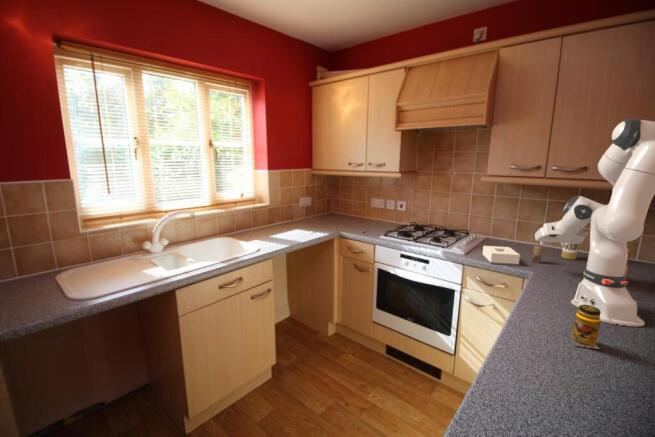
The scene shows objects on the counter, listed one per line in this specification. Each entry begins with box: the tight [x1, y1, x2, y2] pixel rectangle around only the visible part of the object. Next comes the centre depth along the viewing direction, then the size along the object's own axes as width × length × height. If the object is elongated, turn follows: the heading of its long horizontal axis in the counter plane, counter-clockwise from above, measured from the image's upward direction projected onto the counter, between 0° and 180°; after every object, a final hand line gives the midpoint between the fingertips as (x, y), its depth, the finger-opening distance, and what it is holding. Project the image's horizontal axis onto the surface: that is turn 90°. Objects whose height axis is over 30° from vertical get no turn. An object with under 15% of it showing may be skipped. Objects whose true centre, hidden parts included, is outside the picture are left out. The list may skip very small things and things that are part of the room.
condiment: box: [571, 305, 602, 347], centre depth 100 cm, size 7×8×12 cm
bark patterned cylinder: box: [561, 243, 580, 261], centre depth 179 cm, size 7×7×25 cm
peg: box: [531, 244, 543, 264], centre depth 174 cm, size 4×4×9 cm
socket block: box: [481, 245, 521, 266], centre depth 176 cm, size 14×14×6 cm
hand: (552, 244), depth 162 cm, fingers open, 8 cm apart
